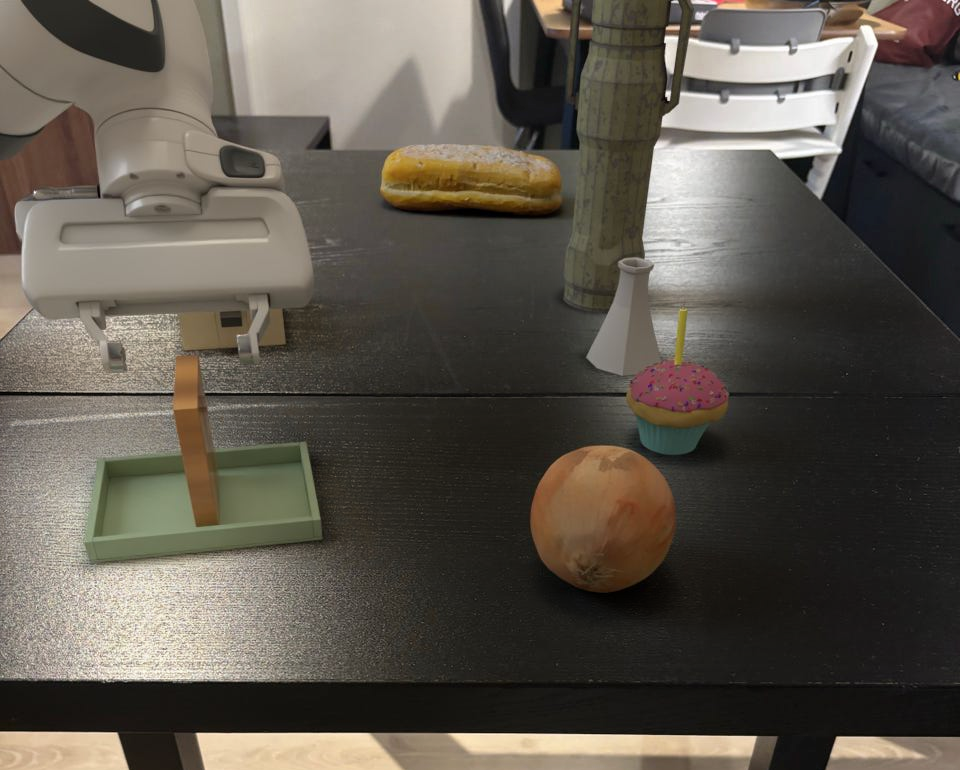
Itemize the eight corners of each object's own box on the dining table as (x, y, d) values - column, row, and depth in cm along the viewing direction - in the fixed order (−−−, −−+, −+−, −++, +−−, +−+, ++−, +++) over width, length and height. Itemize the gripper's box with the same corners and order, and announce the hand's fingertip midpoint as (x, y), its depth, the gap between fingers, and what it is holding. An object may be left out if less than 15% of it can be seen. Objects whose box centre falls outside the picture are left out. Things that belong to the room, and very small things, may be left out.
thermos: (650, 319, 105) (706, -71, 83) (546, 310, 107) (573, -76, 84) (652, 293, 112) (705, -75, 90) (554, 285, 113) (582, -79, 91)
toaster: (186, 309, 104) (177, 253, 100) (278, 304, 106) (272, 249, 102) (185, 365, 92) (174, 304, 89) (287, 358, 94) (281, 298, 90)
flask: (621, 383, 92) (634, 280, 85) (573, 358, 96) (582, 258, 90) (674, 367, 95) (690, 266, 89) (625, 344, 99) (637, 246, 93)
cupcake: (608, 425, 85) (625, 291, 77) (697, 419, 86) (722, 287, 78) (638, 471, 78) (659, 330, 70) (734, 465, 79) (765, 325, 72)
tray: (90, 566, 66) (83, 542, 64) (103, 480, 75) (97, 458, 73) (323, 542, 69) (320, 519, 67) (308, 463, 78) (306, 441, 76)
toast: (198, 477, 75) (175, 355, 68) (218, 475, 75) (198, 354, 68) (197, 537, 68) (172, 409, 61) (220, 535, 68) (197, 407, 62)
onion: (658, 543, 70) (679, 419, 63) (670, 625, 62) (696, 494, 56) (528, 535, 70) (536, 411, 64) (524, 617, 62) (533, 485, 56)
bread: (384, 193, 144) (382, 135, 139) (556, 197, 144) (560, 140, 139) (378, 218, 133) (376, 157, 128) (563, 222, 134) (568, 161, 129)
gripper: (-3, 161, 64) (16, 357, 63) (300, 156, 68) (324, 340, 67) (24, 213, 70) (42, 391, 69) (301, 205, 74) (322, 374, 73)
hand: (183, 366), depth 68 cm, fingers open, 8 cm apart
